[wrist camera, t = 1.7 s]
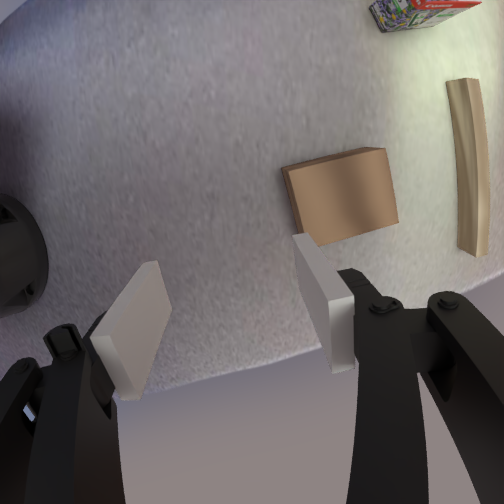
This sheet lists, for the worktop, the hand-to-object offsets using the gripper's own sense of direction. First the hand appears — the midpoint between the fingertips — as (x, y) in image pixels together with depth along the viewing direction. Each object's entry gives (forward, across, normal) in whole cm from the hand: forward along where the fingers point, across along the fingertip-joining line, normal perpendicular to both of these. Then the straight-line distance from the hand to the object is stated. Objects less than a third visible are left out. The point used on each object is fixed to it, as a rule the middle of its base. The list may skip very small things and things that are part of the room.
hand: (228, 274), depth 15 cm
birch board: (+17, +27, +1) cm, 32 cm away
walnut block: (+17, +10, 0) cm, 20 cm away
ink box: (+17, +22, +19) cm, 34 cm away
